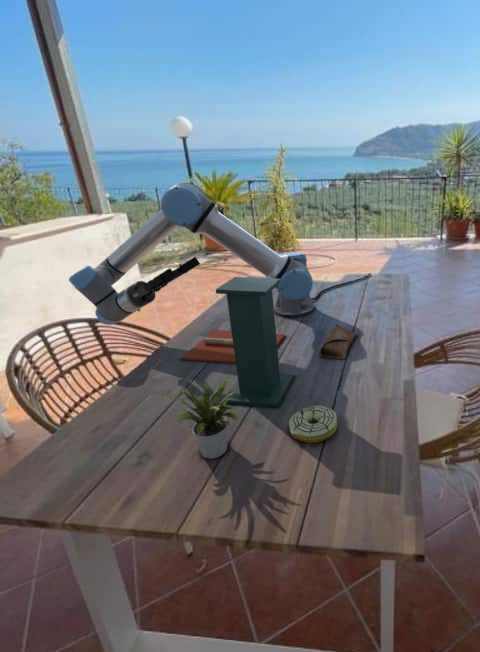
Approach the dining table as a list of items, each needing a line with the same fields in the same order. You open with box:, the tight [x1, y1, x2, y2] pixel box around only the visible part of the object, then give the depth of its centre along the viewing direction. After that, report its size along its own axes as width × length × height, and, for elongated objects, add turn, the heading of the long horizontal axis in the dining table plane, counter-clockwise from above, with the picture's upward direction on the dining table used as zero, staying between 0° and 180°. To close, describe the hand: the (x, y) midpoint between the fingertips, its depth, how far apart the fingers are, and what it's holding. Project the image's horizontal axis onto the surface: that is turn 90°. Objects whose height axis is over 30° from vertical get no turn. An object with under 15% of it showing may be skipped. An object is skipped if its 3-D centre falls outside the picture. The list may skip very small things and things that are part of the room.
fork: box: [203, 337, 233, 345], centre depth 125 cm, size 6×23×2 cm, turn 83°
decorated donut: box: [288, 405, 338, 444], centre depth 87 cm, size 10×11×4 cm
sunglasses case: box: [319, 323, 359, 360], centre depth 126 cm, size 18×7×7 cm, turn 169°
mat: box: [181, 329, 286, 365], centre depth 125 cm, size 20×26×1 cm
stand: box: [215, 276, 295, 408], centre depth 98 cm, size 14×14×30 cm
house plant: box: [161, 375, 238, 459], centre depth 78 cm, size 14×14×16 cm
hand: (185, 266), depth 118 cm, fingers open, 13 cm apart
